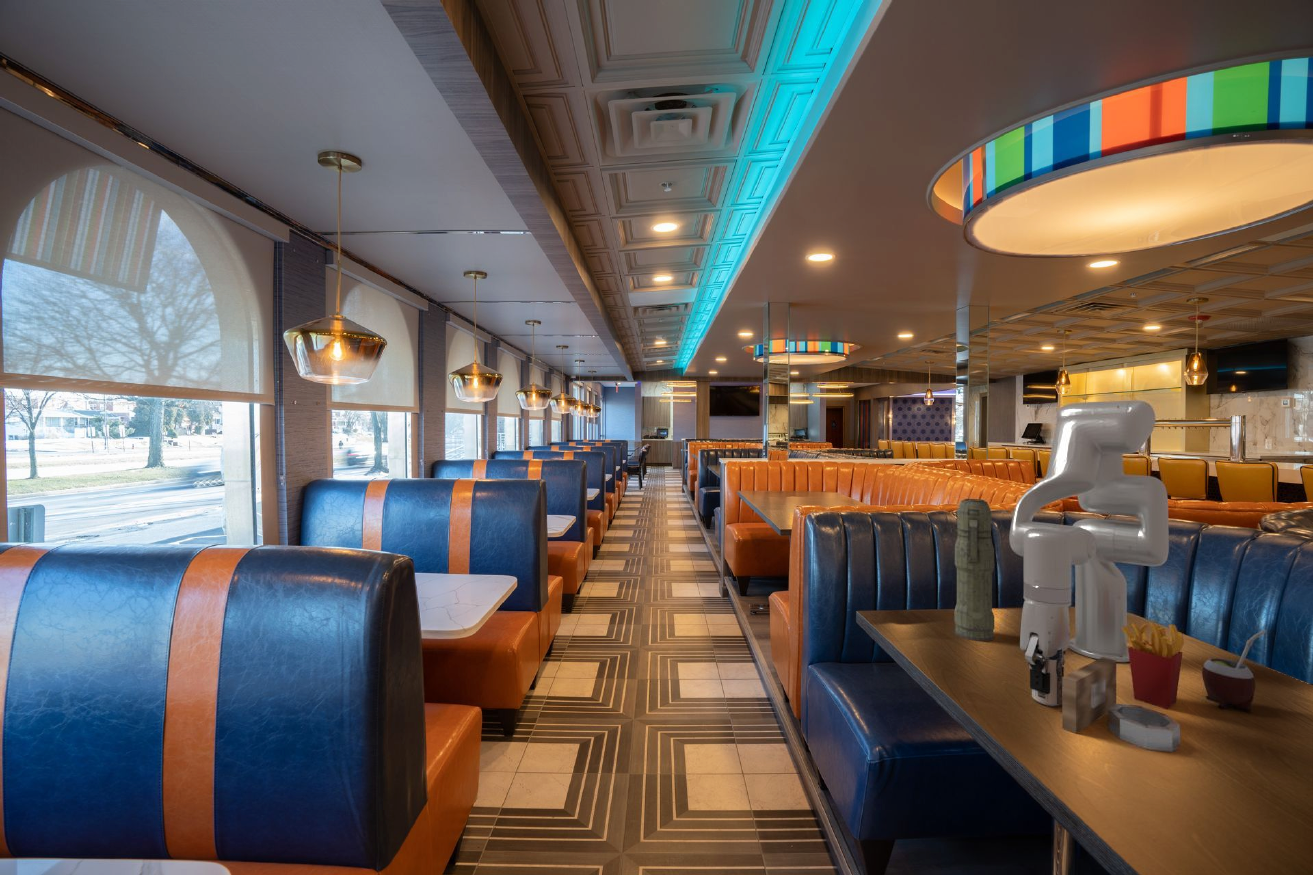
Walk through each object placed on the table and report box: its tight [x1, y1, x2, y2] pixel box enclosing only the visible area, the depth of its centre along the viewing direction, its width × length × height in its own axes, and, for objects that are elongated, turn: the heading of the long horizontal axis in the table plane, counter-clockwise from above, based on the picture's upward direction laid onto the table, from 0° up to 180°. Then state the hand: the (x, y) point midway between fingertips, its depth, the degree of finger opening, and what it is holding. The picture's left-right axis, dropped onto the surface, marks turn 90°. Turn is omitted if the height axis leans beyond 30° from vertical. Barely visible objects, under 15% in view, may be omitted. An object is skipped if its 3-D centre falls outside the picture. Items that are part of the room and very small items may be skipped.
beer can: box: [1031, 647, 1062, 707], centre depth 106 cm, size 5×5×12 cm
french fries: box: [1121, 622, 1185, 710], centre depth 107 cm, size 9×8×15 cm
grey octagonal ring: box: [1107, 703, 1181, 753], centre depth 93 cm, size 8×8×4 cm
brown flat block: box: [1061, 657, 1117, 734], centre depth 100 cm, size 17×2×9 cm, turn 122°
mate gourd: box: [1201, 629, 1268, 714], centre depth 104 cm, size 8×8×15 cm
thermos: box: [953, 498, 995, 642], centre depth 142 cm, size 9×12×35 cm
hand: (1046, 686), depth 106 cm, fingers closed on beer can, 4 cm apart
